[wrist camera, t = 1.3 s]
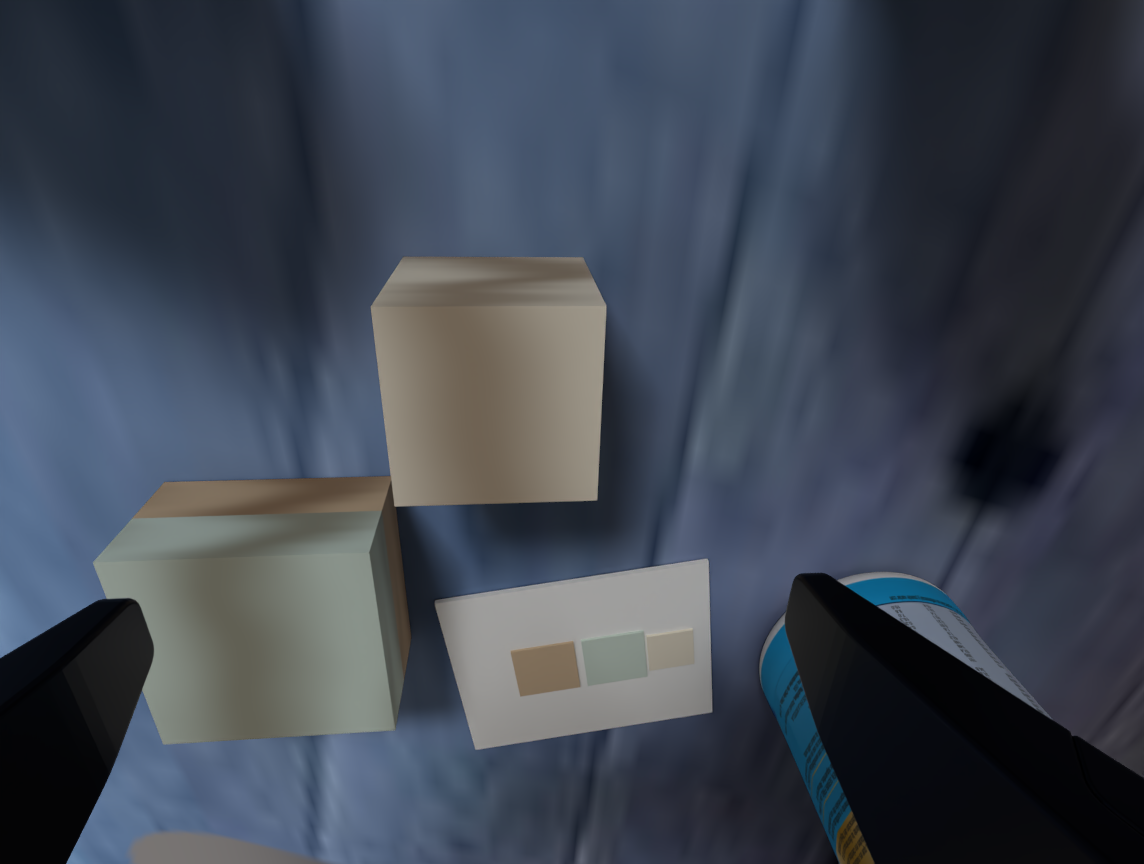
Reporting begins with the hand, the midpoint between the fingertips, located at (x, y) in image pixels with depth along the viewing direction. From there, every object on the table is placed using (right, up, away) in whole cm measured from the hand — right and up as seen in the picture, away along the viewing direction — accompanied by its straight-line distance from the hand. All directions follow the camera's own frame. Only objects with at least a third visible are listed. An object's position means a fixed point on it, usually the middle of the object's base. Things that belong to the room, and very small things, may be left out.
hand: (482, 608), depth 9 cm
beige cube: (-1, +5, +10) cm, 12 cm away
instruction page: (+2, -6, +16) cm, 18 cm away
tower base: (-8, -2, +13) cm, 16 cm away
